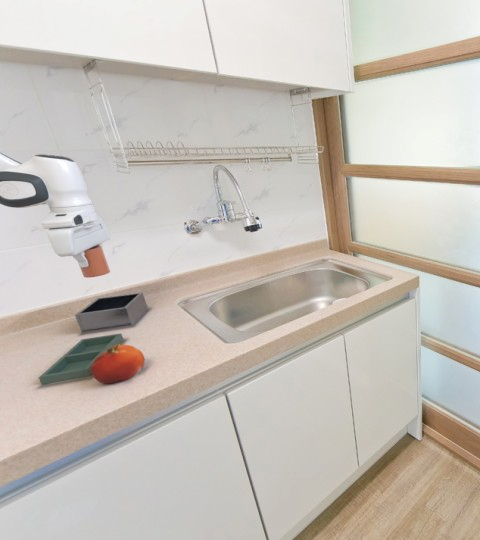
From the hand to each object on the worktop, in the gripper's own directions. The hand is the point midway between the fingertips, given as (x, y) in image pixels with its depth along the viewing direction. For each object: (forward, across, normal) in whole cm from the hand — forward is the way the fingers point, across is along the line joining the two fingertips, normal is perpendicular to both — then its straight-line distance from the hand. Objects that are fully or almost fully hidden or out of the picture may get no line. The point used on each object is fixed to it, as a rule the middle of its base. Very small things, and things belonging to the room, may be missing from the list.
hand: (92, 262), depth 97 cm
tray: (+21, +22, +3) cm, 30 cm away
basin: (+21, -2, 0) cm, 21 cm away
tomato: (+21, +33, +15) cm, 42 cm away
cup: (+4, 0, 0) cm, 4 cm away
